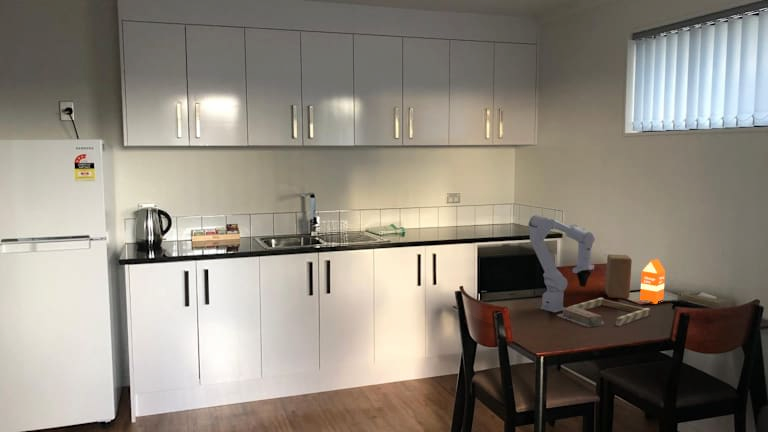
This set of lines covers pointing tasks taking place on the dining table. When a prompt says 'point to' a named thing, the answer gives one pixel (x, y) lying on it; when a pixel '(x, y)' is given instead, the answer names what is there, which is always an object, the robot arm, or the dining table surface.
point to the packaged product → (581, 316)
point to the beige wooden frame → (621, 320)
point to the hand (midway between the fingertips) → (582, 286)
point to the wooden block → (618, 276)
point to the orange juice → (652, 282)
